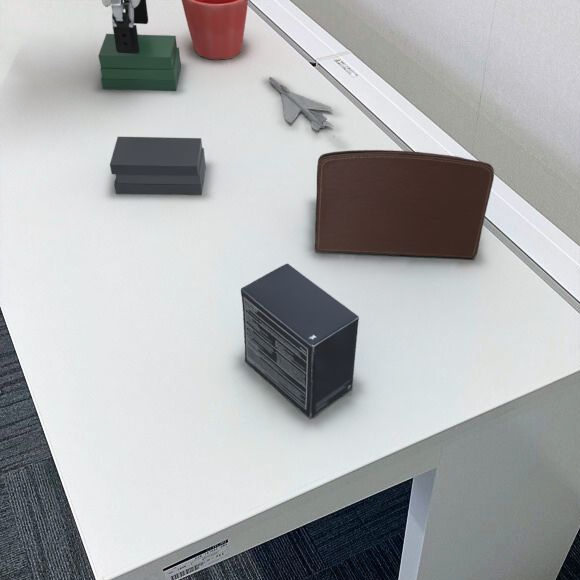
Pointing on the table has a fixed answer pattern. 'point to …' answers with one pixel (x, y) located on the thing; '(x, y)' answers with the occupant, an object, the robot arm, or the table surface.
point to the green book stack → (142, 77)
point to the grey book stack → (158, 165)
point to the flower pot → (216, 26)
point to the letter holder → (401, 203)
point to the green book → (140, 53)
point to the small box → (299, 338)
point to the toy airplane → (301, 107)
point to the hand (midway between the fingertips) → (133, 37)
